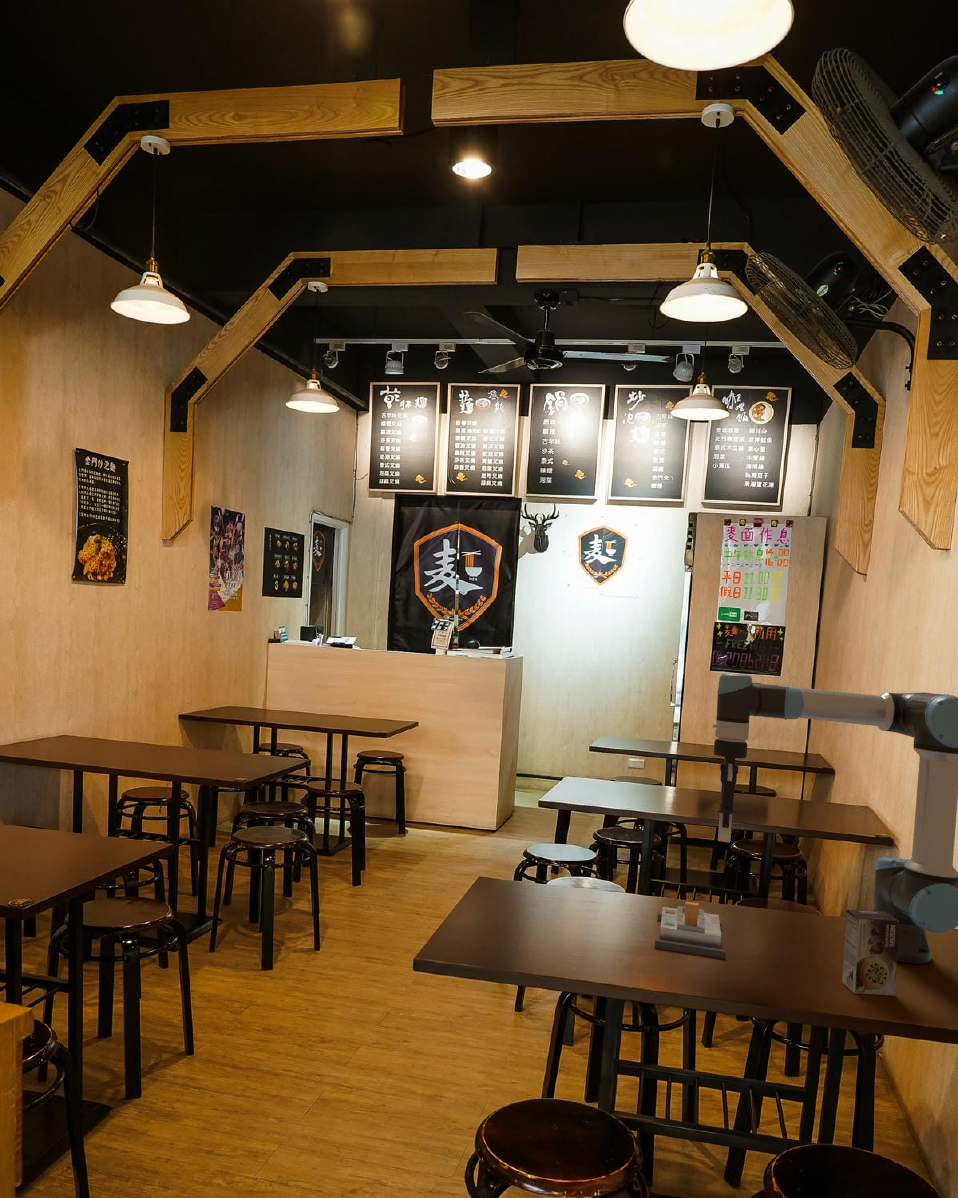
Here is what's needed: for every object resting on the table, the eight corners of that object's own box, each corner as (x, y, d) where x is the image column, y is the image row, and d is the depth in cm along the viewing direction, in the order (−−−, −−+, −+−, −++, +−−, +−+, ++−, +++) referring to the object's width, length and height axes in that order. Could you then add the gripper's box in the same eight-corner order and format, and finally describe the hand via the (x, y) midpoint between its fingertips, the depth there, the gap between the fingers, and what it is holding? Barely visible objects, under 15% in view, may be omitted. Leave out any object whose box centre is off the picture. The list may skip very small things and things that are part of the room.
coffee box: (881, 985, 197) (885, 911, 198) (896, 997, 191) (900, 920, 191) (840, 982, 197) (845, 908, 197) (854, 994, 190) (859, 917, 191)
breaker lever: (697, 924, 216) (698, 903, 216) (697, 926, 214) (698, 905, 214) (684, 922, 217) (685, 901, 217) (684, 924, 215) (685, 903, 215)
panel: (717, 931, 226) (718, 911, 227) (720, 953, 209) (721, 932, 209) (661, 922, 230) (662, 903, 230) (659, 944, 212) (660, 923, 212)
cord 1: (721, 928, 229) (721, 922, 229) (721, 930, 227) (721, 923, 227) (657, 919, 233) (658, 912, 233) (657, 920, 231) (657, 914, 231)
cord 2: (724, 956, 207) (725, 949, 207) (725, 959, 206) (725, 952, 206) (654, 945, 211) (655, 939, 211) (654, 948, 209) (655, 941, 209)
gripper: (713, 735, 217) (706, 833, 216) (715, 740, 204) (708, 844, 203) (745, 739, 215) (739, 837, 214) (749, 744, 202) (742, 849, 201)
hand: (724, 841), depth 209 cm, fingers closed
